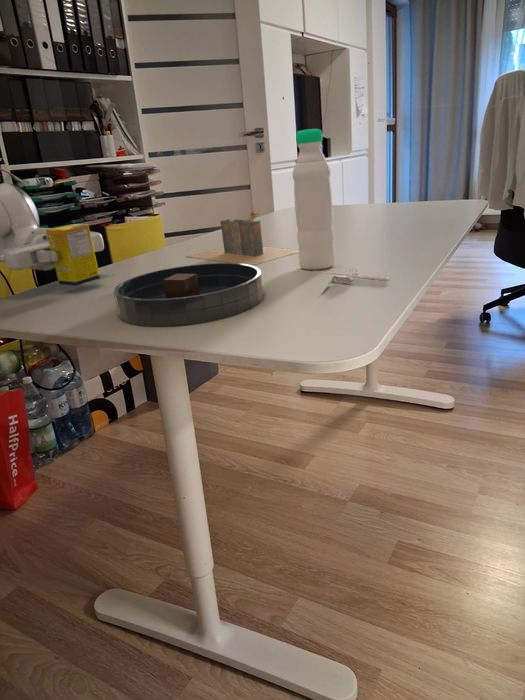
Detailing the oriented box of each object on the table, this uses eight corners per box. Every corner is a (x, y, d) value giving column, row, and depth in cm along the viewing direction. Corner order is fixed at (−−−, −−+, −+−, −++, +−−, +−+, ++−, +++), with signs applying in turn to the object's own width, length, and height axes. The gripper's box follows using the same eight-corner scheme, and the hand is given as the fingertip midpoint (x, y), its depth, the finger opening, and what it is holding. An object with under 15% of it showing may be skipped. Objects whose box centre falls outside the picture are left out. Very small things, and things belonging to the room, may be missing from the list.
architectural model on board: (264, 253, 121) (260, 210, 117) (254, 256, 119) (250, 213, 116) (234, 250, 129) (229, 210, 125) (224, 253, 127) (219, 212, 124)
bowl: (187, 339, 69) (182, 307, 68) (90, 318, 84) (84, 291, 82) (292, 294, 85) (290, 267, 84) (195, 283, 100) (192, 260, 98)
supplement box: (82, 277, 109) (70, 223, 105) (101, 278, 105) (89, 223, 101) (58, 284, 104) (44, 229, 100) (76, 286, 101) (62, 229, 97)
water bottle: (340, 262, 104) (333, 127, 95) (329, 270, 98) (321, 127, 89) (306, 262, 107) (297, 131, 98) (294, 270, 101) (283, 132, 92)
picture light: (391, 281, 86) (391, 268, 86) (377, 287, 84) (377, 275, 83) (324, 274, 96) (323, 263, 95) (309, 280, 93) (308, 268, 92)
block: (187, 304, 84) (183, 279, 82) (167, 303, 85) (162, 279, 84) (200, 297, 87) (196, 273, 86) (180, 296, 89) (176, 273, 87)
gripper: (-14, 243, 102) (20, 246, 94) (78, 226, 116) (115, 226, 108) (-5, 275, 105) (29, 280, 96) (85, 254, 119) (121, 257, 110)
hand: (75, 252), depth 102 cm, fingers closed on supplement box, 6 cm apart
